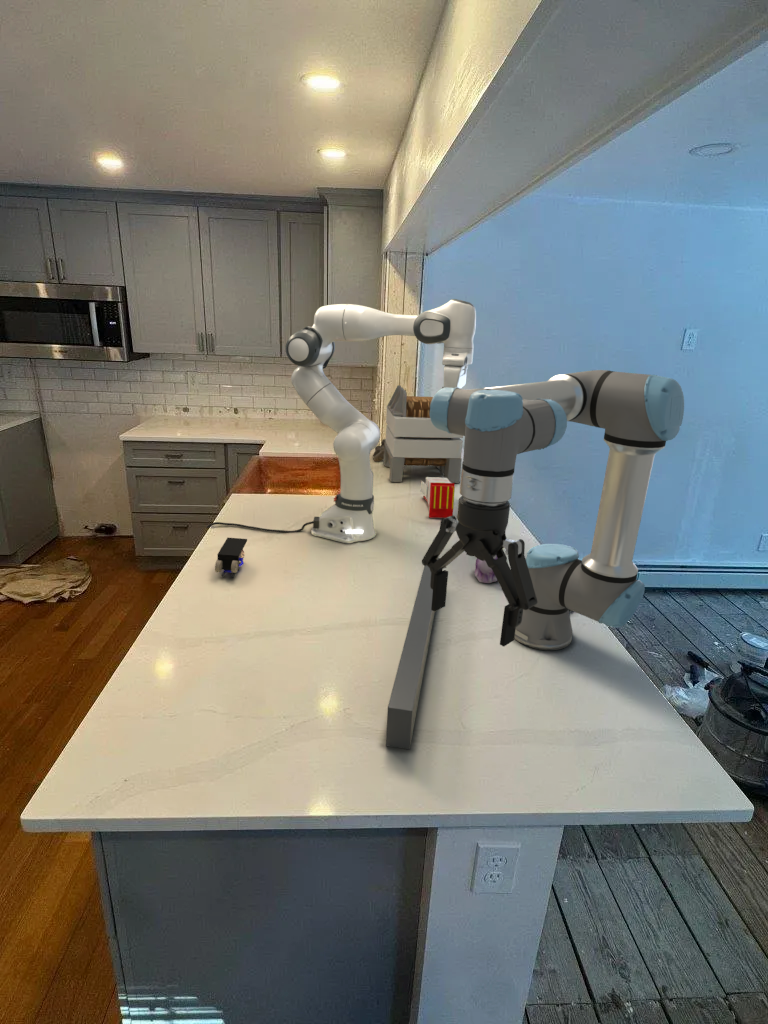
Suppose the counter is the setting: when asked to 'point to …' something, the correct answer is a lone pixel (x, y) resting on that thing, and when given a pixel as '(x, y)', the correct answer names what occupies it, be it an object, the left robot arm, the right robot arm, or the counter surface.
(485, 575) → the figurine
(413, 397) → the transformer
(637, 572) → the right robot arm
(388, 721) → the post
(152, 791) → the counter surface
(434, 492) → the red striped box
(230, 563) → the black wheeled block
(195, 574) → the counter surface
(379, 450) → the fossil
